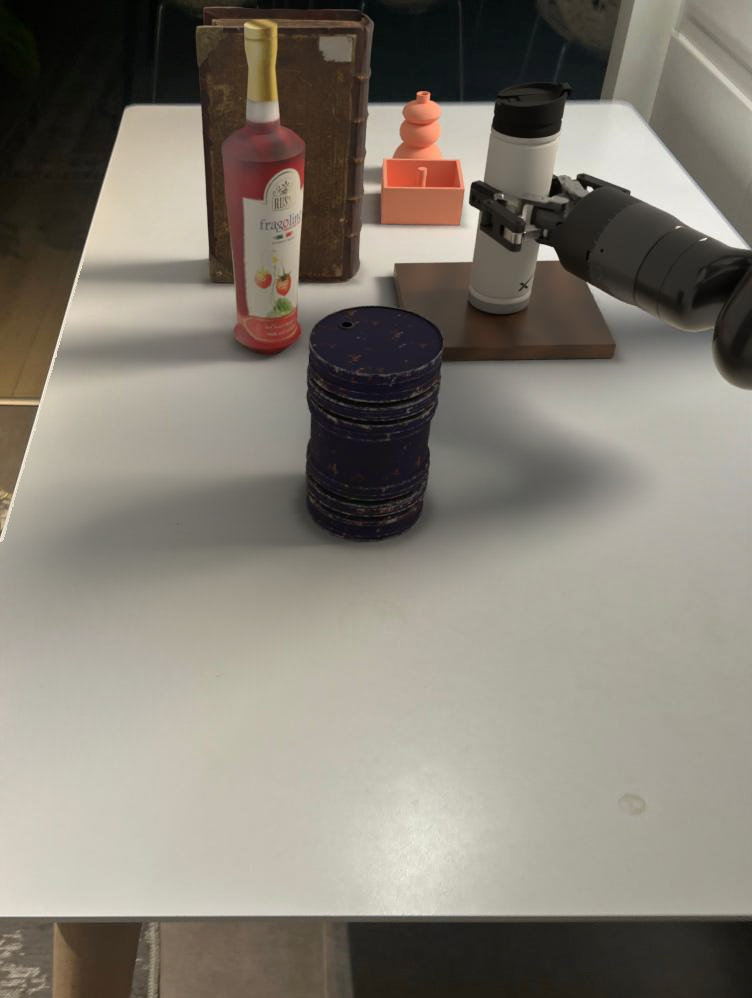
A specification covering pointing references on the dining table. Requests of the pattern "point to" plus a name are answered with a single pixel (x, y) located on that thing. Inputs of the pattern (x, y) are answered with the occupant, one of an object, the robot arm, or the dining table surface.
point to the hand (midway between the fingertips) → (500, 184)
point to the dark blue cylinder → (370, 419)
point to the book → (294, 125)
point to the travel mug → (516, 188)
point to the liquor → (264, 205)
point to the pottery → (421, 172)
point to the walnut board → (521, 335)
